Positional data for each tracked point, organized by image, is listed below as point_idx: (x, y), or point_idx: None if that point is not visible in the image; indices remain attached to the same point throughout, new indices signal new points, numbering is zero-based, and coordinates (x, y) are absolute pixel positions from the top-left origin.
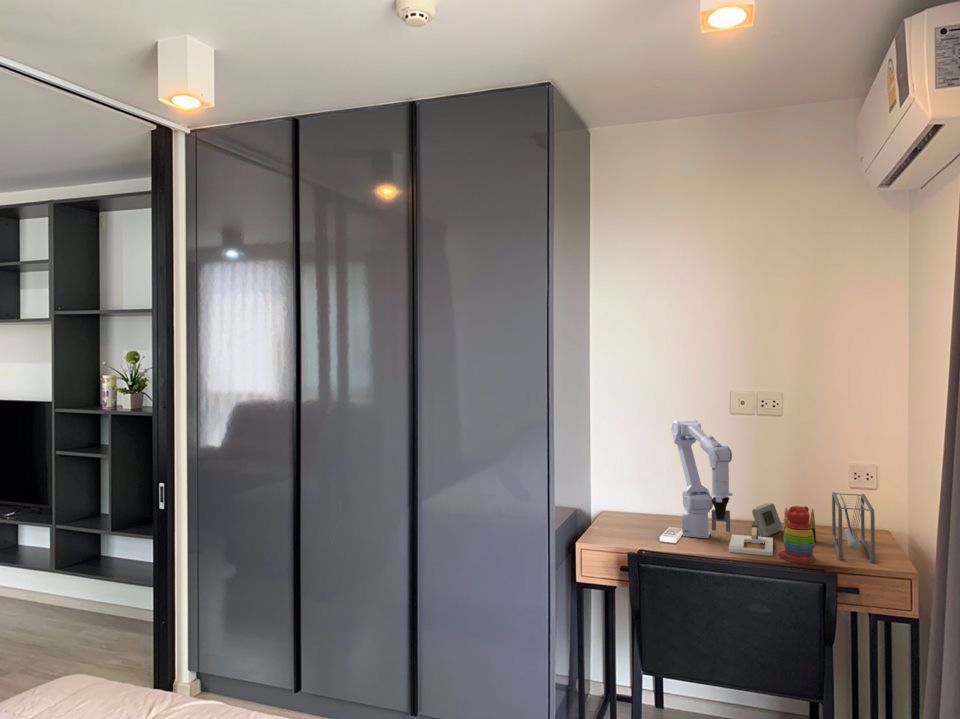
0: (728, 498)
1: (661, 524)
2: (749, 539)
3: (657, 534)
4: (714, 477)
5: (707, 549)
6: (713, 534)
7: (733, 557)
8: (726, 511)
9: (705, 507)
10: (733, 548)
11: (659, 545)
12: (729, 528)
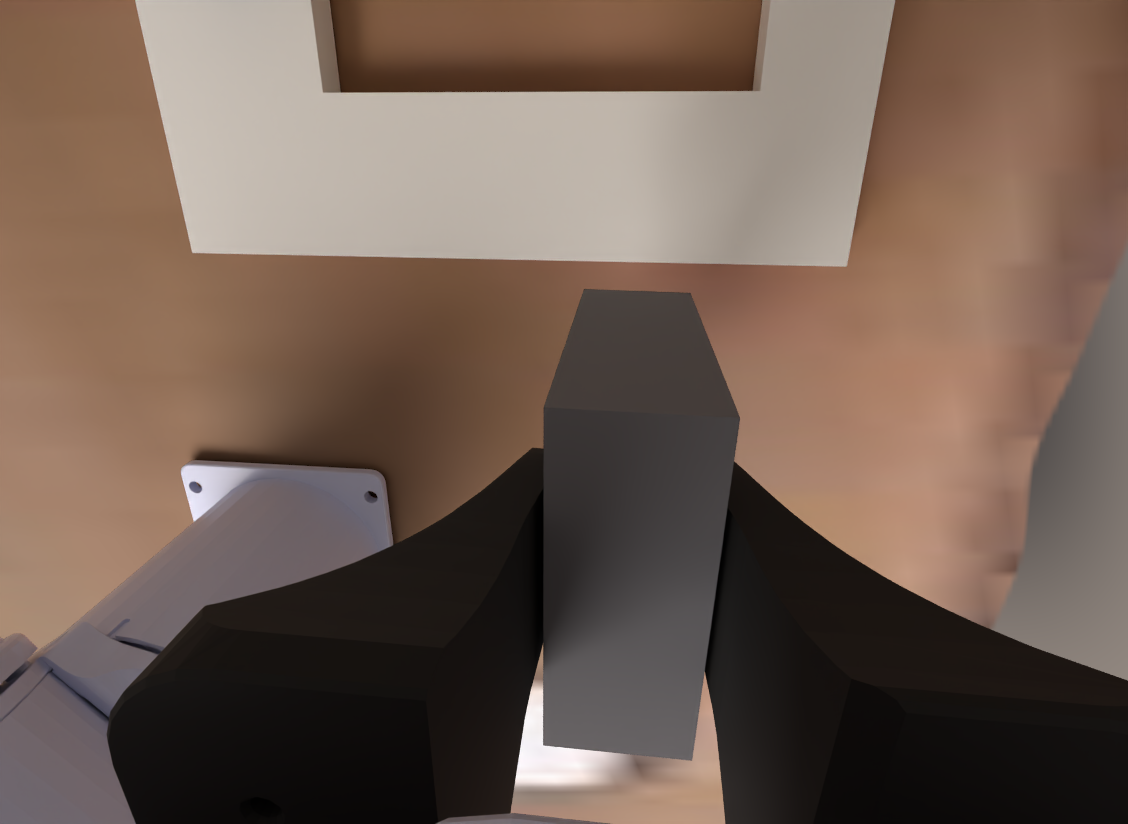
0: (430, 721)
1: None
2: (315, 21)
3: None
4: None
5: (779, 464)
6: (194, 428)
7: (1072, 197)
8: (685, 487)
9: (93, 737)
10: (839, 210)
11: None
12: (695, 307)
